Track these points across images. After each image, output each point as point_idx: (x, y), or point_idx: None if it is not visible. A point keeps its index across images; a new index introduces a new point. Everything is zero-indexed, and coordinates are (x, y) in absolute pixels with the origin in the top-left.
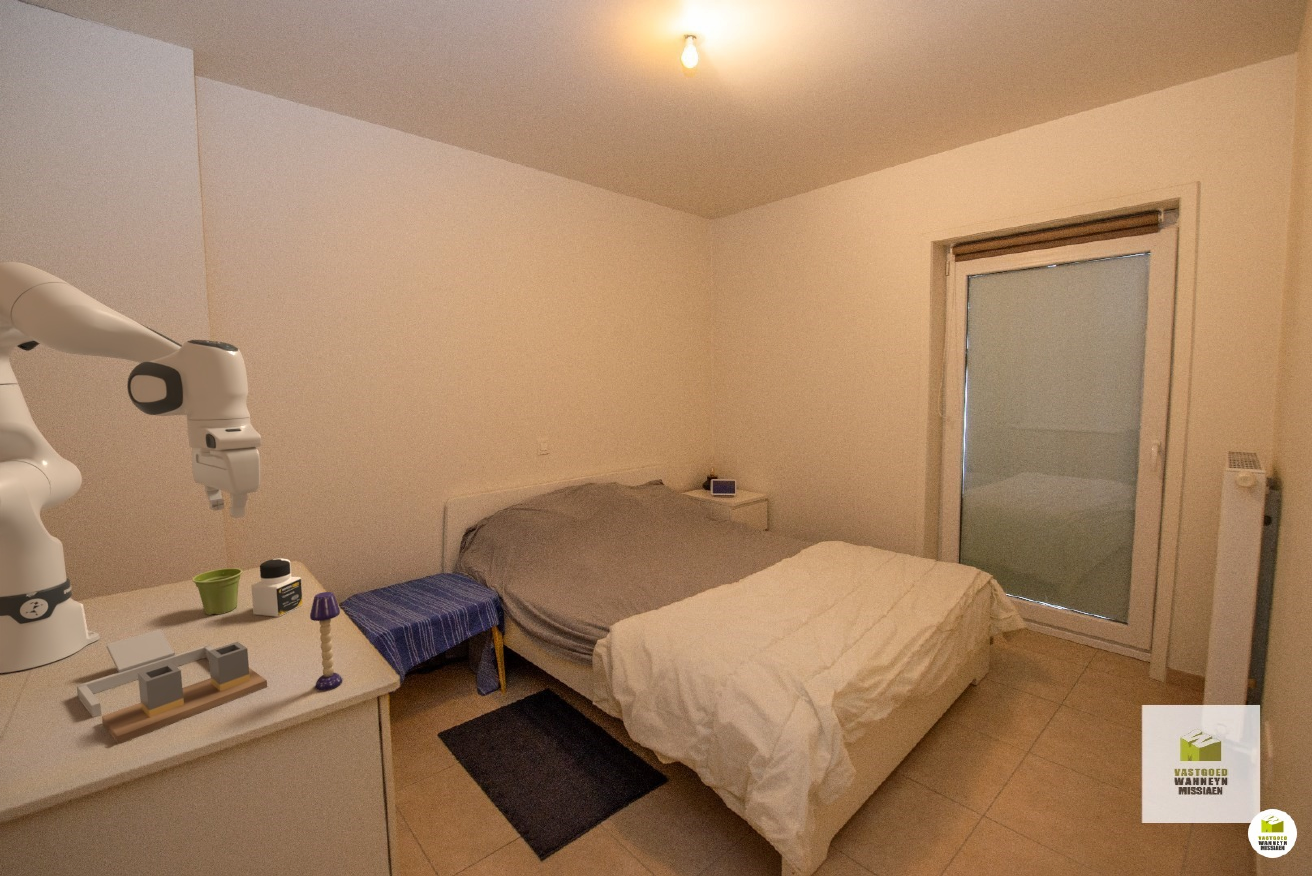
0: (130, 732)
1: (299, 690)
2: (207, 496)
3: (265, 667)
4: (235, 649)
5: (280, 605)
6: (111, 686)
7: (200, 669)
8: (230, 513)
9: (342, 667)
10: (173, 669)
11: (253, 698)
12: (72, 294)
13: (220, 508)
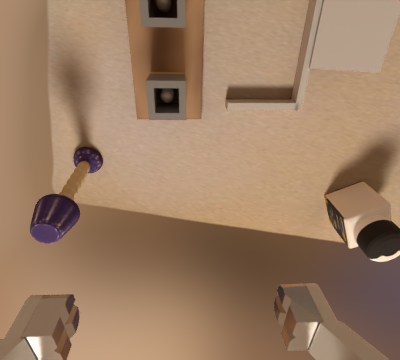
0: None
1: (99, 135)
2: (359, 338)
3: (193, 134)
4: (175, 111)
5: (330, 205)
6: None
7: (259, 82)
8: (55, 306)
9: (121, 183)
10: (154, 20)
11: (119, 95)
12: None
13: (275, 303)
